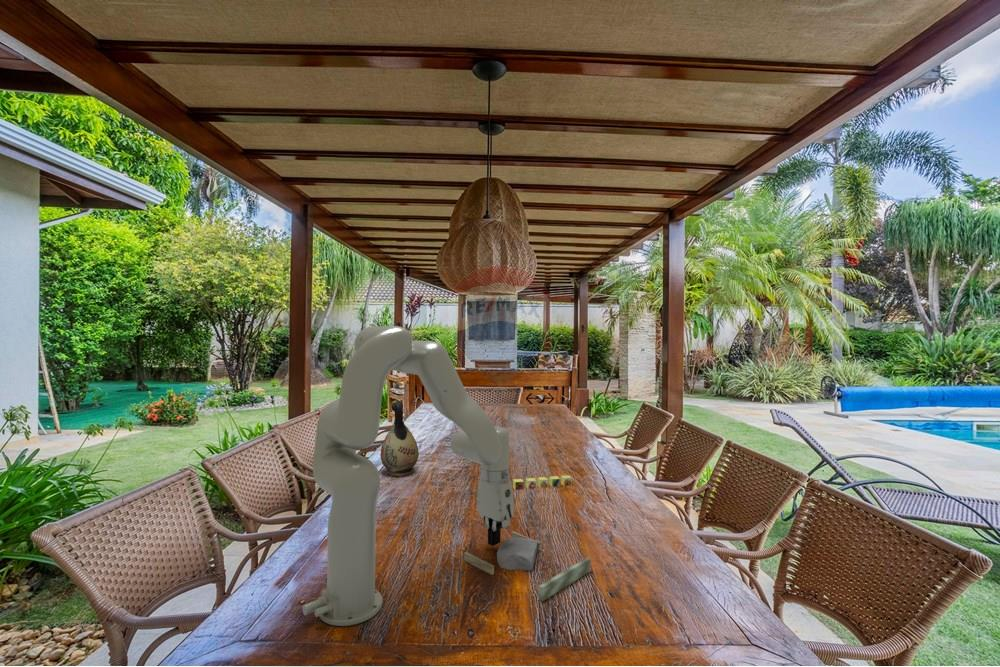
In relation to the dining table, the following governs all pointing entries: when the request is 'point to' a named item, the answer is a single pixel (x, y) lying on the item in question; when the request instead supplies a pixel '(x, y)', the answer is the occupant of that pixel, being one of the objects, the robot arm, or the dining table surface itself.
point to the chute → (550, 585)
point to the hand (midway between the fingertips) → (494, 543)
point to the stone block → (517, 554)
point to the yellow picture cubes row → (542, 482)
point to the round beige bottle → (399, 446)
